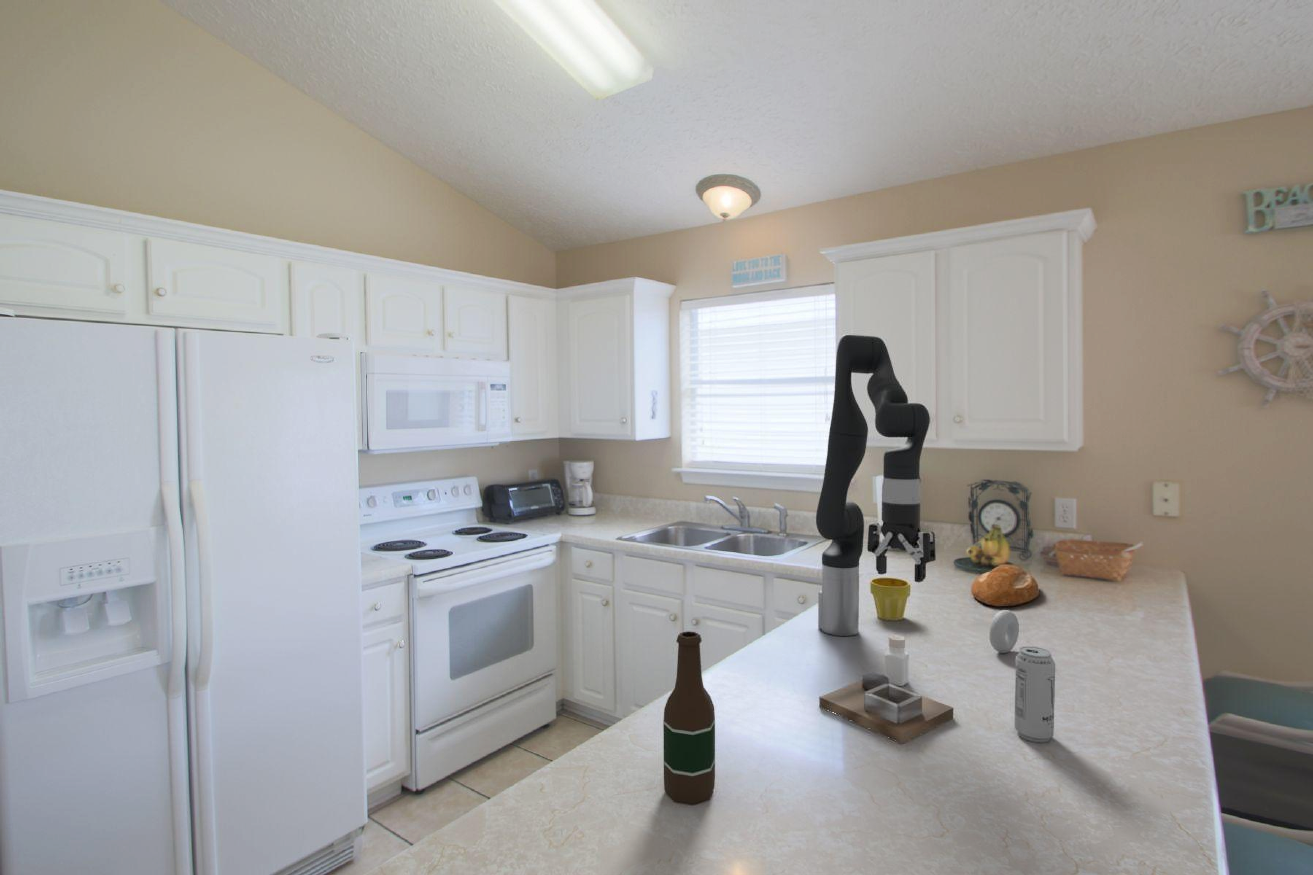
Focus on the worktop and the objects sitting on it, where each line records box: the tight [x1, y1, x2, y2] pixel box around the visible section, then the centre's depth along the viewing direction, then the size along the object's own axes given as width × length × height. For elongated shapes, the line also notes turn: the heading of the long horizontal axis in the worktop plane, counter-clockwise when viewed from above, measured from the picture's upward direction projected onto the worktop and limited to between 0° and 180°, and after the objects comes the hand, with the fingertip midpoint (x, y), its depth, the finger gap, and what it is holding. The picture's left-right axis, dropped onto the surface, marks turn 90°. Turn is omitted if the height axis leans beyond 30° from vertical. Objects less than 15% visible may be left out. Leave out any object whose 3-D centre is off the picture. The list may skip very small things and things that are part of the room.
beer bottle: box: [662, 631, 716, 806], centre depth 102 cm, size 8×8×24 cm
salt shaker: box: [884, 634, 910, 687], centre depth 142 cm, size 4×4×10 cm
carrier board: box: [818, 672, 954, 745], centre depth 128 cm, size 18×16×5 cm
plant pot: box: [869, 576, 911, 621], centre depth 185 cm, size 10×10×10 cm
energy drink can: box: [1013, 646, 1056, 743], centre depth 119 cm, size 6×6×15 cm
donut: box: [989, 609, 1020, 654], centre depth 159 cm, size 10×4×10 cm, turn 128°
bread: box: [970, 564, 1040, 607], centre depth 207 cm, size 18×35×9 cm, turn 141°
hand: (900, 577), depth 141 cm, fingers open, 8 cm apart
